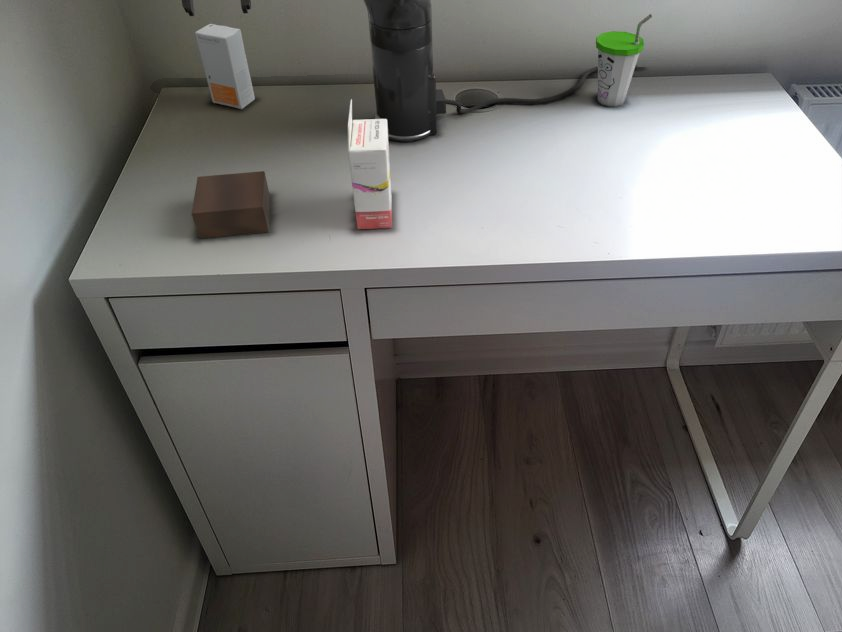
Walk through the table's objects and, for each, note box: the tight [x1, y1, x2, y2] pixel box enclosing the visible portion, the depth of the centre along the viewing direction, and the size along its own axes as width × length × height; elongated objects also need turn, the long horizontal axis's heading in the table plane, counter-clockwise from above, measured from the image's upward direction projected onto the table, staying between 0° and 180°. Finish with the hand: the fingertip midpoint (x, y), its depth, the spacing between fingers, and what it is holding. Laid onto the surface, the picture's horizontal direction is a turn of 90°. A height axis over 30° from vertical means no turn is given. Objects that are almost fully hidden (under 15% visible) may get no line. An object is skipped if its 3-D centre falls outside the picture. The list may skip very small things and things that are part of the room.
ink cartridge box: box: [347, 98, 393, 230], centre depth 93 cm, size 9×5×15 cm, turn 5°
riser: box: [191, 170, 271, 239], centre depth 96 cm, size 9×9×4 cm
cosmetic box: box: [194, 23, 256, 110], centre depth 117 cm, size 6×4×12 cm
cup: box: [595, 13, 653, 108], centre depth 117 cm, size 8×8×15 cm
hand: (218, 12), depth 115 cm, fingers open, 8 cm apart
